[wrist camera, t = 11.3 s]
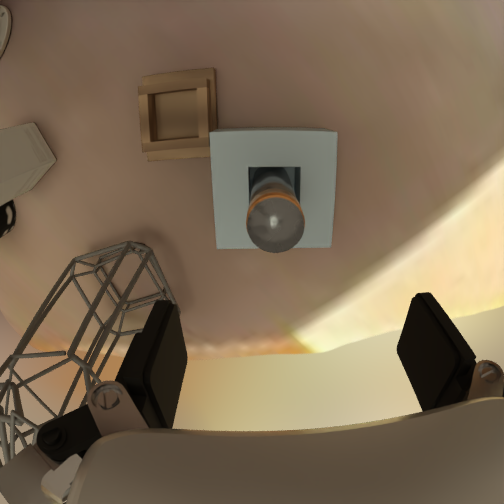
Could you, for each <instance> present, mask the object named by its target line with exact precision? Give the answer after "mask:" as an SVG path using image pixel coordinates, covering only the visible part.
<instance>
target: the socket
mask: <svg viewBox="0 0 504 504" xmlns="http://www.w3.org/2000/svg"><path fill="white" fill-rule="evenodd" d="M209 134H210V153H211V171H212V188H213V203H214V217H215V231H216V244H217V249H249V248H258V247H257V246H256V245H255V244H254V243H253V242H252V241H251V239H250V237H249V235H248V232H247V229H246V218H247V212H248V207H249V204H250V199H251V191H252V184H253V177H254V173H255V171H256V170H257V169H258V168H259V167H283V168H284V169H285V170H286V171H287V173H288V176H289V179H290V181H291V184H292V187H293V190H294V193H295V196H296V199H297V200H298V202H299V204H300V206H301V209H302V212H303V215H304V218H305V228H304V233H303V235H302V238H301V239H300V241H299V242H298V243H297V244H296V245H295V246H294V247H293V248H322V247H331V242H332V230H333V217H334V203H335V186H336V165H337V132H335V131H332V130H328V129H325V128H297V127H254V128H225V129H216V130H214V131H212V132H209Z"/></svg>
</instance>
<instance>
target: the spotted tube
mask: <svg viewBox="0 0 504 504" xmlns="http://www.w3.org/2000/svg"><path fill="white" fill-rule="evenodd" d="M15 220H16V211H15V206H14V202H13V200H10V201H8V202H7V203H5V204H3V205H1V206H0V238H1V237H2V236H4V235H5V234H7V233H8V232H9V231H11V230H12V229H13V227H14V224H15Z"/></svg>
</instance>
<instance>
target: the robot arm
mask: <svg viewBox="0 0 504 504" xmlns="http://www.w3.org/2000/svg"><path fill="white" fill-rule="evenodd" d="M10 30H11V14H10V11H9V10H8V8H7V7H5V6H1V5H0V57H1V55H2V53H3V51H4V49H5V47H6V44H7V41H8V38H9V35H10ZM397 354H398V356H399V358H400V360H401V362H402V365H403V367H404V369H405V371H406V374H407V376H408V378H409V380H410V382H411V385H412V387H413V389H414V392H415V394H416V396H417V399H418V401H419V404H420V406H421V408H422V411H423V412H419V413H415V414H410V415H405V416H400V417H395V418H390V419H384V420H379V421H372V422H366V423H360V424H352V425H345V426H335V427H326V428H315V429H303V430H287V431H286V430H285V431H205V430H187V429H172V427H173V423H174V418H175V413H176V409H177V404H178V400H179V395H180V391H181V387H182V382H183V378H184V373H185V369H186V365H187V351H186V347H185V342H184V337H183V332H182V328H181V323H180V318H179V312H178V307H177V305H176V304H173V303H172V301H171V300H156V302H155V304H154V306H153V308H152V310H151V313H150V315H149V317H148V319H147V322H146V324H145V326H144V328H143V331H142V332H137V333H136V334H135V336H134V338H133V340H132V342H131V344H130V347H129V349H128V351H127V353H126V356H125V358H124V360H123V362H122V365H121V367H120V369H119V372H118V374H117V376H116V379H115V381H103V382H100V383H98V384H96V385H95V386H94V387H93V388H91V389H90V391H89V393H88V396H87V403H88V404H86V405H84V406H82V407H80V408H78V409H76V410H74V411H72V412H69V413H67V414H65V415H64V416H61V417H59V418H57V419H55V420H52V421H50V422H48V423H46V424H45V425H43V426H42V427H41V428H40V430H39V431H38V434H37V438H36V441H37V442H36V443H35V444H34V445H32V444H31V443H30V444H29V445H28V446H26V447H25V448H24V449H23V450H22V451H20V452H19V453H18V454H17V455H16V456H15V457H13V458H12V459H11V460H10V461H9V462H7V463H6V464H5V465H4V466H3V467H2V468H1V469H0V491H1V493H2V494H3V496H4V497H5V499H6V500H7V502H8V503H9V504H63V502H62V497H63V494H64V493H65V491H66V490H67V489H68V488H69V487H70V486H71V488H70V491H69V495H68V498H67V501H66V504H504V373H503V370H502V369H501V367H500V366H499V365H498V364H496V363H495V362H493V361H489V360H482V361H479V362H478V363H476V361H475V358H476V356H475V354H474V352H473V351H472V349H471V348H470V346H469V345H468V344H467V342H466V341H465V339H464V338H463V336H462V335H461V333H460V332H459V331H458V329H457V328H456V327H455V325H454V324H453V322H452V321H451V319H450V318H449V317H448V315H447V314H446V312H445V311H444V310H443V308H442V307H441V306H440V304H439V303H438V302H437V300H436V299H435V298H434V297H433V295H432V294H431V293H429V292H426V293H417V294H416V295H415V297H413V298H412V300H411V304H410V307H409V311H408V314H407V317H406V320H405V324H404V327H403V330H402V333H401V336H400V339H399V342H398V345H397ZM72 481H73V482H72ZM71 482H72V485H70V484H69V483H71Z"/></svg>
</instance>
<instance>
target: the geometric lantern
mask: <svg viewBox="0 0 504 504" xmlns="http://www.w3.org/2000/svg"><path fill="white" fill-rule="evenodd" d="M132 246H133V247H132ZM119 248H120V249H119ZM135 248H139V249H140V251H139V252H138V251H136V250H134V249H135ZM116 249H118V250H116ZM128 249H130V251H128ZM112 250H116V251H113V252H111V253H108V254H106V255H104V256H101V257H99V261H98V262H97V264H96V265H94V264H91V263H87V262H84V261H81V260H83V259H86V258H89V257H92V256H96V255H99V254H102V253H106V252H109V251H112ZM120 251H122V252H121V254H120V255H118V256H116V257H114V258H111V259H109V260H106V261H104V262H102V263H101V259H103V258H105V257H108V256H110V255H113V254H115V253H118V252H120ZM127 251H128V252H127ZM131 253H135V254H138V256H139V257H140V259H141V261H142V263H141V264H140V266H139V268H138V269H137V271H136V273H135V275H134V276H133V278H132V280H131V281H130V283H129V285H128V287H127V288H126V290H125V292H124V294H123V296H122V297H120V296H119V294H118V293H117V291H116V289H115V288H114V286H113V284H112V283H111V280H112V278H113V276H114V274H115V273H116V271H117V269H118V267H119V265H120V264H121V262H122V260H123V258H124V257H125V256H126V255H128V254H131ZM144 253H146V256H145V258H144V259H143V257H142V255H141V254H144ZM116 259H117V261H116V263H115V264H114V266H113V268H112V269H111V271H110V273H109V275H108V276H107V274H106V273H105V271H104V269H103V268H102V265H104V264H106V263H109V262H111V261H114V260H116ZM148 260H150V262H151V264H152V265H153V267H154V269H155V271H156V273H157V275H158V276H159V278H160V280H161V282H162V284H163V285H164V289H163V291H162V290H161V288H160V286H159V285H158V283H157V281H156V280H155V278H154V276H153V274H152V273H151V271H150V269H149V268H148V266H147V264H146V263H147V262H148ZM76 262H77V263H81V264H84V265H88V266H91V267H94V270H93V271H89V272H84V273H80V274H75V275H74V270H75V264H76ZM97 267H98V268H97ZM144 267H145V268H146V270H147V271H148V273H149V275H150V276H151V278H152V280H153V281H154V283H155V285H156V287H157V288H158V290H159V291H160V293H158V294H155V295H151V296H148V297H145V298H142V299H138V300H135V301H132V302H126V300H127V298H128V296H129V294H130V292H131V290H132V289H133V287H134V285H135V283H136V281H137V279H138V278H139V276H140V274H141V272H142V271H143V269H144ZM96 268H97V269H96ZM70 269H71V272H70V277H69V278H68V279H67V281H66V282H65V283H64V284H63V286H62V287H61V288H60V290H59V291H58V292H57V294H56V295H55V296H54V298H53V299H52V301H51V302H50V303H49V301H50V300H51V298H52V296H53V295H54V293H55V292H56V290H57V289H58V287H59V286H60V284H61V283H62V281H63V280H64V278H65V277H66V275H67V274H68V272H69V271H70ZM99 269H101V271H102V272H103V274H104V276H105V277H106V280H105V281H104V283H103V282H102V281H101V279H100V278H99V276H98V275H97V272H98V270H99ZM92 273H94V275H95V276H96V278H97V279H98V281H99V282H100V284H101V285H102V287H101V289H100V290H99V292H98V294H97V296H96V298H95V299H94V301H93V303H92V305H91V304H90V302H89V301H88V299H87V297H86V296H85V294H84V292H83V290H82V289H81V287H80V285H79V284H78V282H77V280H76V278H75V277H79V276H83V275H88V274H92ZM71 281H73V282H74V284H75V286H76V287H77V289H78V291H79V293H80V294H81V296H82V298H83V299H84V301H85V303H86V304H87V306H88V307H89V311H88V313H87V314H86V316H85V318H84V320H83V322H82V324H81V326H80V328H79V330H78V332H77V334H76V336H75V338H74V340H73V342H72V344H71V346H70V348H69V350H68V352H67V355H68V358H67V359H65V360H63V361H61V362H59V363H57V364H55V365H53V366H51V367H49V368H47V369H45V370H43V371H42V372H40V373H38V374H36V375H34V376H32V377H30V378H28V379H26V380H24V381H23V380H22V379H21V378H20V377H19V375H18V374H17V373H16V372H15V371H14V369H13V368H14V366H15V364H16V362H17V361H18V359H19V358H34V357H50V356H62V355H66V351H55V352H43V353H31V354H22V353H23V351H24V349H25V348H26V346H27V344H28V343H29V341H30V340H31V338H32V337H33V335H34V333H35V332H36V330H37V329H38V327H39V326H40V324H41V323H42V321H43V320H44V318H45V317H46V315H47V314H48V312H49V311H50V310H51V308H52V307H53V305H54V304H55V302H56V301H57V300H58V298H59V297H60V295H61V294H62V293H63V291H64V290H65V289H66V287H67V286H68V284H69V283H70V282H71ZM109 284H110V286H111V287H112V289H113V291H114V292H115V294H116V295H117V297H118V299H119V300H120V301H119V303H118V304H117V303H116V301H115V300H114V299H113V297H112V296H111V294H110V293H109V291H108V290H107V287H108V285H109ZM105 291H106V293H107V294H108V296H109V297H110V299H111V300H112V301H113V303H114V304H115V306H116V308H115V310H114V312H113V314H112V315H111V316H110V317H109V318H108V320H107V321H106V322H105V323H104V324H103V323H102V321H101V320H100V318H99V317H98V315H97V314H96V312H95V310H96V308H97V306H98V304H99V302H100V300H101V298H102V296H103V295H104V293H105ZM166 291H167V293H168V296H169V298H170V300H171V301H172V303H173V304H176V305H177V303H176V301H175V299H174V296H173V294H172V292H171V290H170V288H169V286H168V284H167V281H166V279H165V277H164V275H163V273H162V270H161V268H160V266H159V264H158V261H157V259H156V257H155V255H154V252H153V250H152V249H151V248H149V247H147V246H145V245H144V244H140V243H136V242H132V241H127V242H123V243H120V244H117V245H114V246H110V247H107V248H104V249H100V250H97V251H94V252H91V253H88V254H84V255H81V256H78V257H75V258H73V259H72V261H71V262H70V264H69V265H68V266H67V268H66V269H65V270H64V272H63V273H62V275H61V276H60V278H59V279H58V281H57V282H56V284H55V285H54V287H53V288H52V290H51V291H50V293H49V294H48V296H47V297H46V299H45V300H44V302H43V304H42V305H41V307H40V308H39V310H38V312H37V313H36V315H35V317H34V318H33V320H32V322H31V323H30V325H29V327H28V328H27V330H26V332H25V334H24V335H23V337H22V339H21V340H20V342H19V344H18V346H17V348H16V349H15V351H14V353H13V355H10V356H9V357H8V358H7V360H6V361H5V362H4V364H3V365H2V366H1V367H0V377H1V375H2V374H3V372H4V371H5V370H6V368H7V367H8V368H9V369H10V376H9V379H7V380H6V382H5V383H0V390H1V392H0V403H1V401H2V399H3V397H4V395H5V393H6V391H7V397H6V406H5V414H4V410H3V407H2V406H1V405H0V438H1V441H0V446H1V447H2V449H3V455H4V460H5V464H6V463H7V462H9V461H10V460H11V459H12V458H13V457H15V456H16V454H15V441H16V440H17V438H18V437H19V438H20V440H21V442H22V444H23V447H24V448H25V447H26V446H28V445H27V443H26V441H25V438H24V437H26V436H28V435H30V434H32V433H34V436H33V441H32V445H34V444H35V443H36V442H37V441H36V438H37V434H38V431H39V430H40V428H41V427H42V426H43V425H45V424H46V423H48V422H50V421H52V420H55V419H57V418H59V417H61V416H63V413H64V411H65V409H66V407H67V405H68V402H69V400H70V398H71V396H72V393H73V391H74V389H75V387H76V384H77V382H78V380H79V378H80V375H81V373H82V371H83V372H84V379H85V385H86V390H87V392H86V394H85V396H84V398H83V400H82V402H81V405H80V407H82V406H84V405H86V402H87V396H88V393H89V391H90V389H91V388H93V387H94V386H95V384H96V382H97V383H100V382H101V380H100V379H99V376H100V374H101V372H102V370H103V367H104V366H105V364H106V362H107V360H108V358H109V356H110V354H111V352H112V350H113V348H114V347H115V345H116V343H117V341H118V339H119V338H120V336H124V335H130V334H136V333H137V332H142V331H143V329H137V330H132V331H126V332H121V328H122V323H123V319H124V315H125V312H128V311H132V310H135V309H138V308H141V307H144V306H147V305H150V304H153V303H155V302H156V300H154V301H151V302H148V303H145V304H142V305H139V306H136V307H133V308H130V309H128V308H129V306H130V304H134V303H137V302H140V301H144V300H147V299H150V298H154V297H157V296H160V295H162V296H161V298H160V299H157V300H163V299H165V300H169V299H168V298H167V297H166V296H165V293H166ZM48 303H49V305H48V306H47V304H48ZM124 304H128V305H127V307H126V309H125V310H124V309H122V307H123V305H124ZM46 306H47V308H46ZM177 307H178V305H177ZM45 308H46V309H45ZM44 309H45V310H44ZM43 311H44V312H43ZM120 311H122V312H123V313H122V317H121V321H120V325H119V330H118V332H116V331H114V330H112V327H113V325H114V323H115V321H116V319H117V317H118V315H119V313H120ZM178 312H179V316H180V313H181V311H180V309H179V307H178ZM41 314H42V315H41ZM93 315H94V317H95V319H96V320H97V322H98V323H99V325H100V326H101V327H100V329H99V331H98V333H97V335H96V336H95V338H94V340H93V342H92V344H91V346H90V348H89V350H88V352H87V354H86V356H85V358H84V360H82V359H80V358H79V357H78V356H76V355H75V354H74V353H75V351H76V349H77V347H78V345H79V343H80V340H81V338H82V336H83V334H84V332H85V330H86V328H87V326H88V324H89V322H90V320H91V318H92V316H93ZM106 324H107V325H106ZM105 325H106V326H105ZM103 329H104V331H103ZM102 331H103V333H102ZM101 333H102V335H101ZM109 333H112V334H114V335H116V337H115V339H114V341H113V342H112V344H111V346H110V348H109V350H108V351H107V353H106V355H105V357H104V359H103V361H102V363H101V365H100V367H99V369H98V371H97V372H96V374H95V373H94V372H93V371H92V367H93V365H94V363H95V361H96V359H97V357H98V355H99V353H100V351H101V349H102V347H103V345H104V343H105V341H106V339H107V337H108V335H109ZM100 335H101V337H100ZM99 337H100V338H99ZM98 339H99V340H98ZM97 341H98V343H97ZM96 343H97V345H96ZM95 345H96V347H95ZM94 347H95V349H94ZM93 349H94V351H93ZM92 351H93V353H92ZM91 353H92V355H91ZM90 355H91V357H90ZM89 357H90V360H89V362H88V363H87V361H88V359H89ZM71 360H73V361H74V362H75V363H77V364H78V365H79V366H80V368H79V370H78V372H77V374H76V376H75V378H74V381H73V383H72V385H71V387H70V389H69V391H68V394H67V396H66V398H65V400H64V402H63V405H62V407H61V409H60V412H59V414H58V416H57V415H56V414H55V413H53V412H52V410H50V408H49V407H47V405H46V404H45V403H44V402H43V401H42V400H41V399H40V398H39V397H38V396H37V395H36V394H35V393H34V392H33V391H32V390H31V389H30V388H29V387H28V386H27V383H29V382H31V381H33V380H35V379H37V378H39V377H41V376H43V375H45V374H46V373H49V372H50V371H52V370H54V369H56V368H58V367H60V366H62V365H64V364H66V363H68V362H69V361H71ZM12 374H14V375H15V376H16V378H17V379H18V380H19V381H20V383H18V384H17V385H16V384H15V383H14V382H11V380H12ZM90 375H91V376H92V377H93V380H92V382H91V380H90ZM22 386H24V387H25V388H26V389H27V390H28V391H29V392H30V393H31V394H32V395H33V396H34V397H35V398H36V399H37V400H38V401H39V403H40V404H41V405H42V406H43V407H44V408H45V409H47V410H48V411H49V412H50V413H51V414H52V415H53V416H54V417H55V418H53V419H51V420H49V421H47V422H45V423H42V424H40V425H38V426H37V425H36V424H34V423H33V422H31V421H29V420H28V419H26V418H25V417H24V414H23V409H22V405H21V400H20V394H19V389H18V388H20V387H22ZM10 389H12V392H13V398H14V406H15V410H12V411H11V416H10V415H7V414H8V404H9V395H10ZM80 407H79V408H80ZM5 422H6V423H7V424H8V425H9V426H10V443H9V444H8V441H7V434H6V427H5ZM23 423H26V424H28V425H29V426H31V427H32V429H30V430H28V431H26V432H24V433H21V432H20V431H19V430H18V429H17V428H16V426H15V425H18V426H22V425H23ZM15 433H16V435H15ZM2 467H3V465H2V462H1V460H0V469H1V468H2ZM72 482H73V481H72ZM72 482H71V483H69V484H70V485H72ZM70 488H71V486H70V487H69V488H68V489H67V490H66V491H65V493H64V494H63V497H62V502H64V501H66V500H67V498H68V495H69V491H70ZM0 492H1V491H0ZM2 495H3V494H2ZM4 498H5V497H4ZM63 504H66V502H65V503H63Z"/></svg>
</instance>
